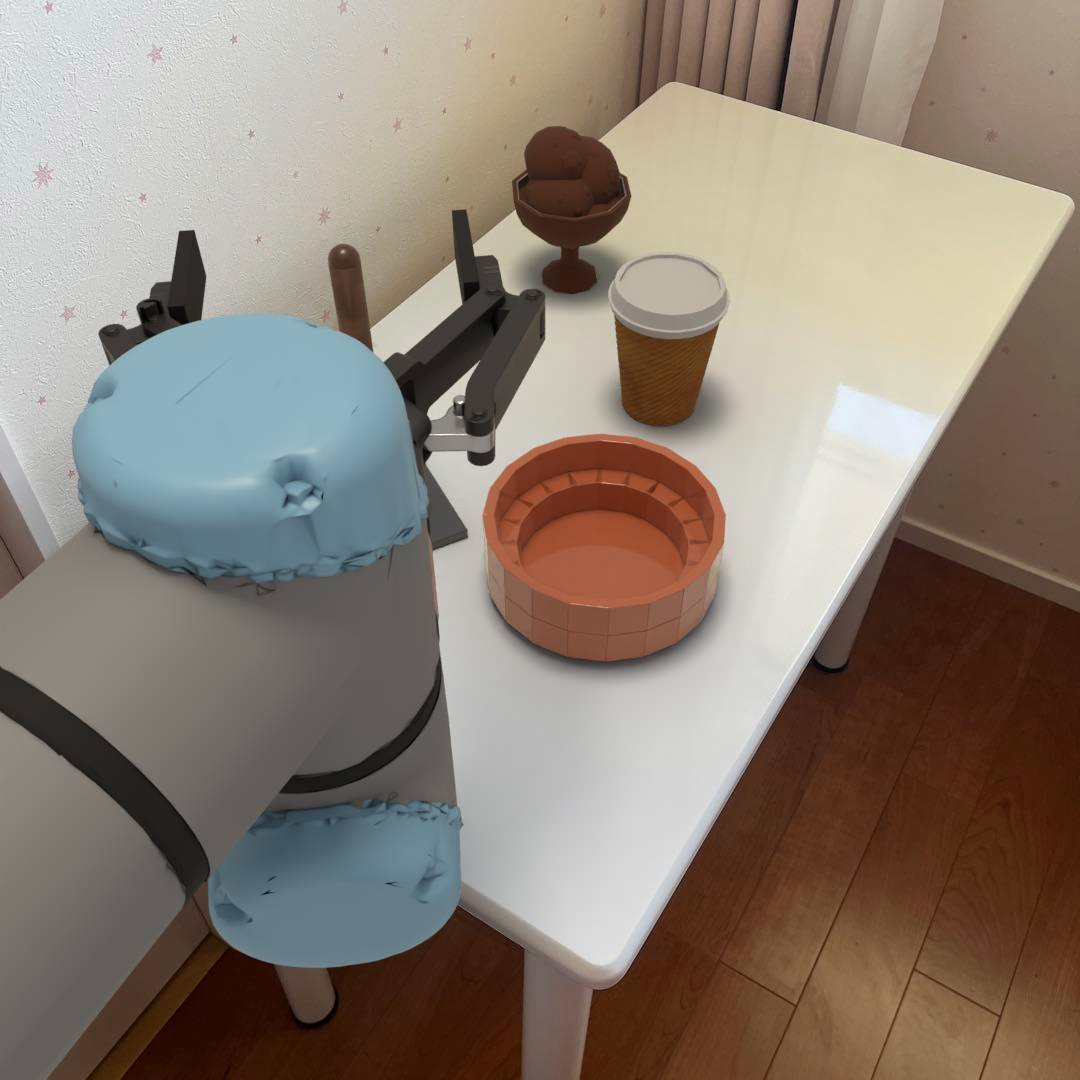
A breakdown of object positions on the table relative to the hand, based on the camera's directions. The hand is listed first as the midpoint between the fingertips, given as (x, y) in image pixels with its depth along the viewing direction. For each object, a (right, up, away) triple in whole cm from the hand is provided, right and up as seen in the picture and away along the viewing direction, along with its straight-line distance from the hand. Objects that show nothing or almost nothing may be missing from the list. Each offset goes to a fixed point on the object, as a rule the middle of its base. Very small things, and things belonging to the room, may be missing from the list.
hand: (328, 242), depth 57 cm
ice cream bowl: (+14, +10, +51) cm, 53 cm away
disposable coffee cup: (+21, -4, +38) cm, 43 cm away
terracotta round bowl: (+15, -18, +24) cm, 34 cm away
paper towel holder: (-1, -13, +28) cm, 31 cm away
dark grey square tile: (-1, -13, +28) cm, 32 cm away
